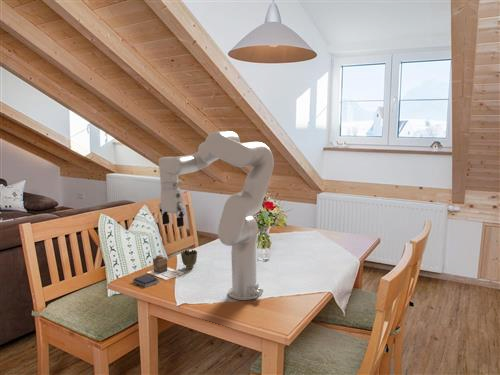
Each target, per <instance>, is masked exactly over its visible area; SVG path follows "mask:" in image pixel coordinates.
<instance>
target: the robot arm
mask: <svg viewBox="0 0 500 375" xmlns="http://www.w3.org/2000/svg"><path fill="white" fill-rule="evenodd" d="M218 160H221V161H224V162H226V163H227V164H229V165H231V166H234V167H237V168H246V167H250V166H251V168H250V170H249V172H248V174H247V175H246V177H245V182H244V184H243V188H242V190H240V191H239V192H236V193H233V194H231V195H230V196H229V197H228V198H227V199H226V201H225V202H224V206H223V209H222V213H221V217H220V219H219V224H218V229H217V236H218V239H219V241H220V242H221V243H222V244H223V245H225V246H227V247H231V284H232V286H231V288H230V289H229V290H228V293H227V294H228V296H229V297H230V298H232V299H235V300H236V301H237V300H238V301H251V300H253V299H257V298H259V297H262V295H263V293H264V289H263V288H259V287H260V286H259V283H257V239H258V233H259V226H258V222H257V220H256V218H255V217H254V215H256V214H258V213H259V212H260V211H261V209H262V206H263V203H264V200H265V198H266V193H267V191H268V186H269V183H270V180H271V177H272V175H273V171H274V168H275V159H274V155H273V152H272V151H271V149H270V147H269V146H267V145H266V144H265V143H263V142H260V141H249V142H248V141H247V142H241V141H240V137H239V135H238V134H237V133H236V132H235V131H231V130H220V131H213V132H211V133H209V134H208V135H207V136H206V139H205V141H204V142H201V143H200V144H199V145H198V149H197V151H196V152H194V153H192V154H188V155H187V154H186V155H180V156H163V157H160V158H159V159H158V169H159V178H160V189H161V190H160V202H159V204H157V206H158V209H159V212H160V215H161V219H162V225H167V224H170V216H169V213H172V214H175V216H176V227H177V228H181V227H184V225H185V223H184V222H185V221H184V217H185V215H186V211H187V210H186V209H187V207H186V206H185V205H184V201H183V200H184V199H183V195H182V191H181V189H180V186H179V185H180V183H179V182H180V180H179V176H180V175H181V176H182V175H186V174H191V173H196V172H198V171H200V170H201V171H202V169H205V168H207V167H208V166H210V165H211V164H212V163H213V162H215V161H218Z"/></svg>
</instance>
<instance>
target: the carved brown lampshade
mask: <svg viewBox="0 0 500 375" xmlns="http://www.w3.org/2000/svg"><path fill="white" fill-rule="evenodd" d="M180 256H181V261H182V264H183V265H184V266H185V269H186V270H192V269H194V265H196V263H197V259H198V251H197V250H196V249H191V251H190V250H189V249H185V250H182V251H180Z"/></svg>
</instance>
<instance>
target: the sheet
mask: <svg viewBox="0 0 500 375" xmlns="http://www.w3.org/2000/svg"><path fill="white" fill-rule="evenodd" d="M146 273H147V275H150V276H153V277H155V278H159V279H163V280H164V281H168V280H170V279H173V278H176V277H178V276H181V275H184V274H185V273H184V272H183V271H180V270H176V269H173V268H171V267H169V266H167V271H165V272H162V273H157V272H154V269H152V270H150V271H147V272H146Z"/></svg>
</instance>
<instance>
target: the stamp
mask: <svg viewBox="0 0 500 375" xmlns="http://www.w3.org/2000/svg"><path fill="white" fill-rule="evenodd" d="M152 265H153V266H152V267H153V269H152V270H154V272H157V273H162V272H165V271H167V267H168V258H167V257H165V256H164V255H162V254H158V255H156V256H155V257H154V258H152Z"/></svg>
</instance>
